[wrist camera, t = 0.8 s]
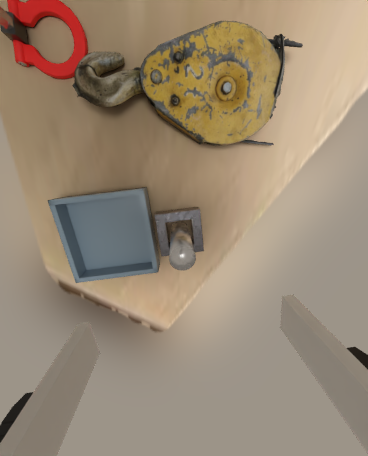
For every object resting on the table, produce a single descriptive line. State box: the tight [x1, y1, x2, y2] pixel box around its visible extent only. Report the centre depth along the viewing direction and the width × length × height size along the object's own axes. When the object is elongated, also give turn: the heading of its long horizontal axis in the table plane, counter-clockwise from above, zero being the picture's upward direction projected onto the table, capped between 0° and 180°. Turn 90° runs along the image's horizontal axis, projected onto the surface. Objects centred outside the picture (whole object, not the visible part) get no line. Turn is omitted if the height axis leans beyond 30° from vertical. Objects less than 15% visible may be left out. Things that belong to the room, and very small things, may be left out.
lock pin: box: [169, 221, 196, 270], centre depth 27 cm, size 3×3×12 cm
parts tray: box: [48, 187, 160, 283], centre depth 31 cm, size 15×15×4 cm
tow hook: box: [0, 0, 88, 79], centre depth 18 cm, size 8×13×9 cm
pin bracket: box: [155, 207, 204, 256], centre depth 32 cm, size 8×8×2 cm
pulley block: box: [72, 21, 303, 145], centre depth 24 cm, size 14×6×30 cm
